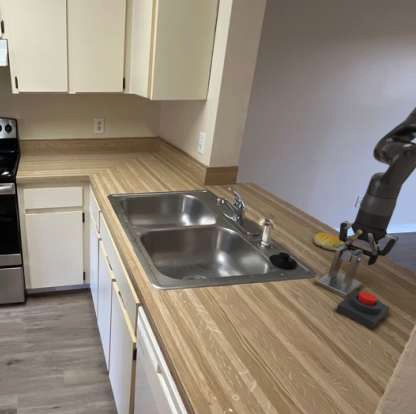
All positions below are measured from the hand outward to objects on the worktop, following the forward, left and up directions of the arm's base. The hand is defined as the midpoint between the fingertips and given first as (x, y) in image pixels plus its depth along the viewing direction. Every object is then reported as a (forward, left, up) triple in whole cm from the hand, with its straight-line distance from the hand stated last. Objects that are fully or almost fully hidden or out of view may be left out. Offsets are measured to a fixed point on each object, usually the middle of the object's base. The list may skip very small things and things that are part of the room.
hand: (357, 259), depth 101 cm
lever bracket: (+10, 0, -5) cm, 11 cm away
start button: (+18, +9, -2) cm, 20 cm away
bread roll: (-13, -13, -6) cm, 19 cm away
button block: (+18, +9, -5) cm, 21 cm away
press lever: (+5, 0, +3) cm, 6 cm away
